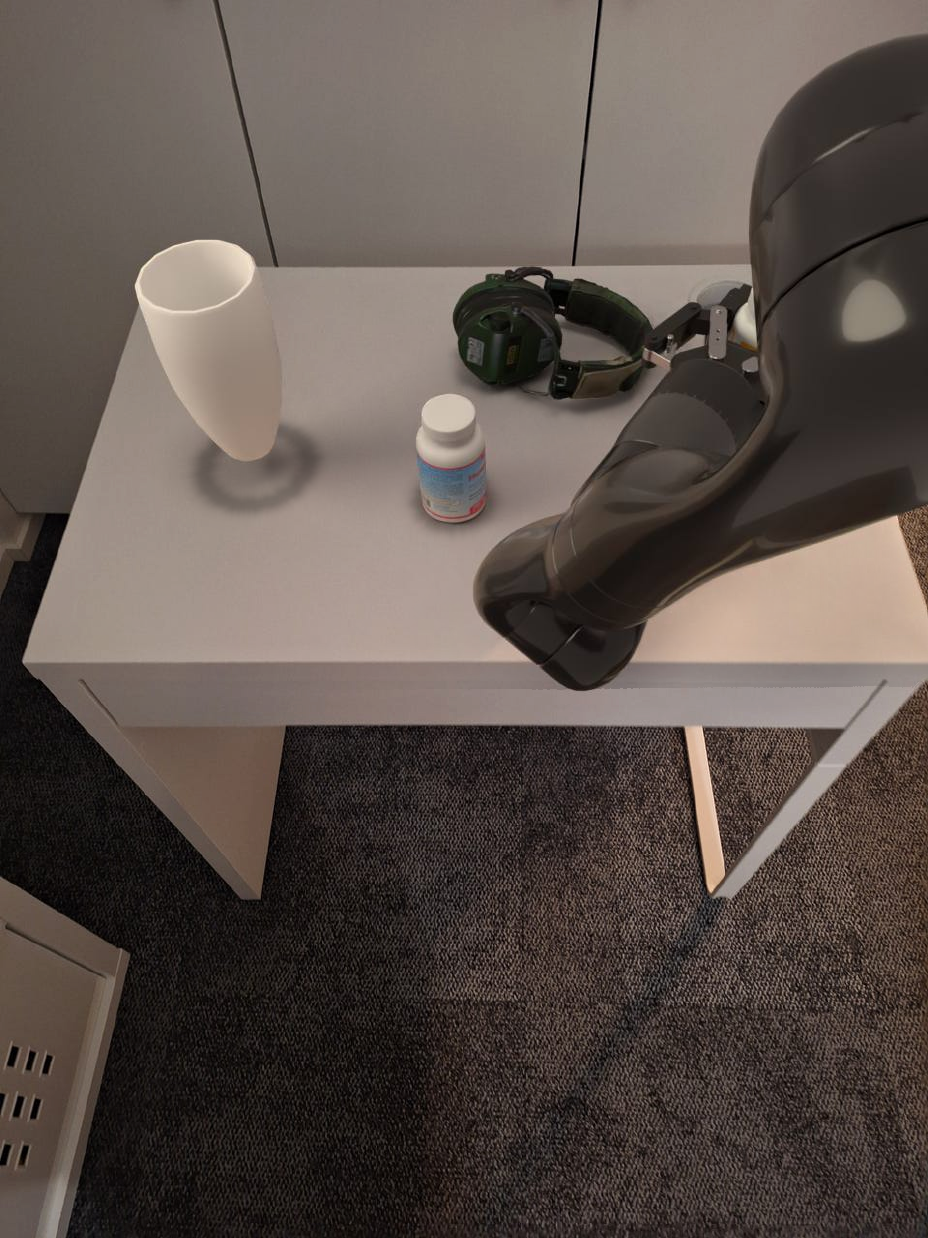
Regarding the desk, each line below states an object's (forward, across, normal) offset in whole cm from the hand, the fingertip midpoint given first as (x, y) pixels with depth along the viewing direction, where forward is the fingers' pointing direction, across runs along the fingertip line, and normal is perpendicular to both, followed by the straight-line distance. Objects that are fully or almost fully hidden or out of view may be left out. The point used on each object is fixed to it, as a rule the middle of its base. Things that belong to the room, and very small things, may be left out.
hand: (782, 308), depth 70 cm
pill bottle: (-16, +21, +20) cm, 33 cm away
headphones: (+5, +23, +20) cm, 31 cm away
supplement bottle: (-3, 0, +7) cm, 7 cm away
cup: (-22, +40, +20) cm, 50 cm away
